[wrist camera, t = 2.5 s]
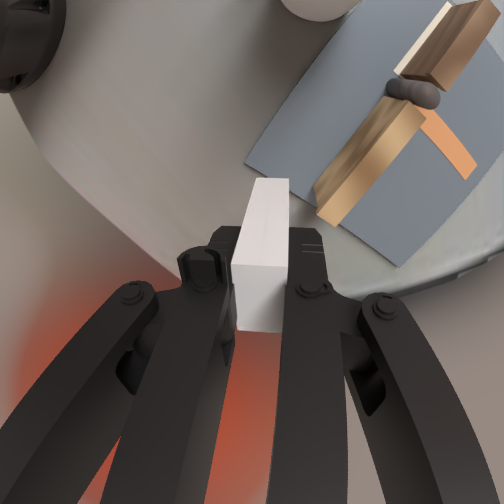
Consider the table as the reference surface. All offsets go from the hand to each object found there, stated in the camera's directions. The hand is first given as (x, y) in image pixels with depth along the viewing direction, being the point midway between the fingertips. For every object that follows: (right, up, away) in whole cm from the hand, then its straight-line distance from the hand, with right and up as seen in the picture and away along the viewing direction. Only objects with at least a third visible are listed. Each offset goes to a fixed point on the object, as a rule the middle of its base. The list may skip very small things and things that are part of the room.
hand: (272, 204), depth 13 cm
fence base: (+14, +16, +2) cm, 21 cm away
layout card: (+14, +10, +7) cm, 19 cm away
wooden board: (+8, +7, +9) cm, 14 cm away
